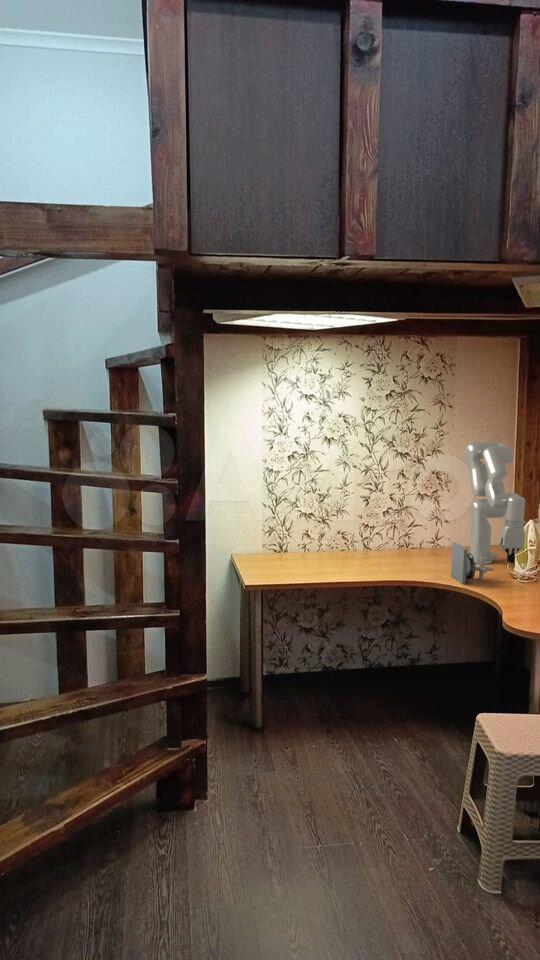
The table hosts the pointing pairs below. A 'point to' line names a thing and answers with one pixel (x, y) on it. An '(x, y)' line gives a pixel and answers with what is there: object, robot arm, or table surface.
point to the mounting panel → (459, 563)
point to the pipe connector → (482, 569)
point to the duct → (470, 566)
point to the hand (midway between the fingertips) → (510, 562)
